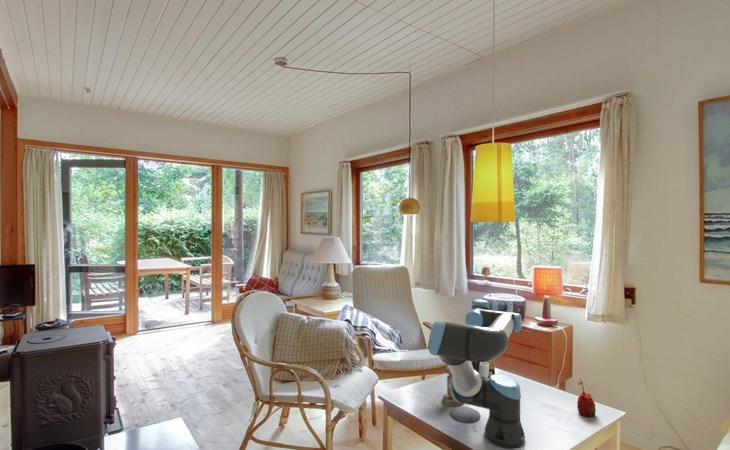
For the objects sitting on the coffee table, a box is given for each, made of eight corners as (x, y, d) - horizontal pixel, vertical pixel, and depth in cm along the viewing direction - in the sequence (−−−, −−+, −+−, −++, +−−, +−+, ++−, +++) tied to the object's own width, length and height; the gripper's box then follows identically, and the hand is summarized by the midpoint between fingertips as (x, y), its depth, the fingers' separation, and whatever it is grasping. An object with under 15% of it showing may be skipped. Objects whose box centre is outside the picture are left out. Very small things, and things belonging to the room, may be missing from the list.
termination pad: (485, 421, 163) (485, 420, 163) (457, 424, 161) (457, 422, 161) (472, 406, 176) (472, 405, 176) (445, 409, 174) (445, 407, 174)
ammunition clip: (494, 377, 209) (494, 356, 209) (495, 379, 207) (495, 357, 207) (474, 376, 211) (474, 354, 211) (474, 377, 209) (475, 355, 209)
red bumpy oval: (588, 419, 165) (588, 385, 165) (573, 412, 171) (573, 379, 171) (599, 415, 169) (599, 382, 168) (583, 408, 175) (584, 376, 175)
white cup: (473, 379, 179) (474, 358, 179) (490, 383, 174) (491, 361, 174) (468, 385, 172) (468, 363, 172) (485, 389, 168) (486, 367, 168)
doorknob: (467, 405, 177) (468, 373, 177) (447, 407, 176) (447, 374, 176) (459, 395, 187) (459, 365, 187) (439, 397, 186) (439, 366, 185)
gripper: (479, 340, 163) (478, 393, 163) (496, 330, 179) (495, 378, 179) (462, 337, 168) (462, 388, 168) (480, 327, 184) (480, 374, 184)
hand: (479, 383), depth 173 cm, fingers closed on white cup, 7 cm apart
